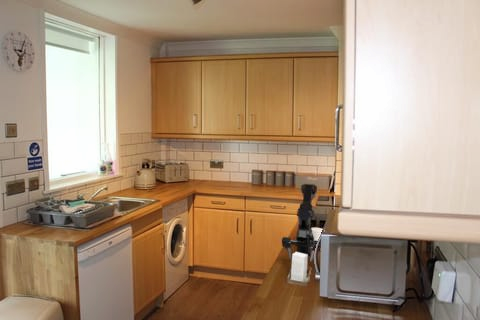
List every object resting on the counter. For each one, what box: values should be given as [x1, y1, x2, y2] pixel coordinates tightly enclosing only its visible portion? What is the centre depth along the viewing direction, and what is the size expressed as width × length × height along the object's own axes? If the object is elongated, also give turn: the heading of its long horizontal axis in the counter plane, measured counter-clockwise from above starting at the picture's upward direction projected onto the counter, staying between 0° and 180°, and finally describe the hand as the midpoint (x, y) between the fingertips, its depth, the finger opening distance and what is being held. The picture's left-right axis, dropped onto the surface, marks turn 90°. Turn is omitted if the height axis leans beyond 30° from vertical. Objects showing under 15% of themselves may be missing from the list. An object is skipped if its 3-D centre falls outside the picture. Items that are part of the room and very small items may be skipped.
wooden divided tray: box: [286, 265, 313, 287], centre depth 196 cm, size 18×10×2 cm, turn 166°
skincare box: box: [290, 251, 309, 282], centre depth 192 cm, size 6×4×12 cm
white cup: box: [310, 227, 324, 249], centre depth 236 cm, size 8×8×10 cm
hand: (300, 261), depth 195 cm, fingers open, 9 cm apart
